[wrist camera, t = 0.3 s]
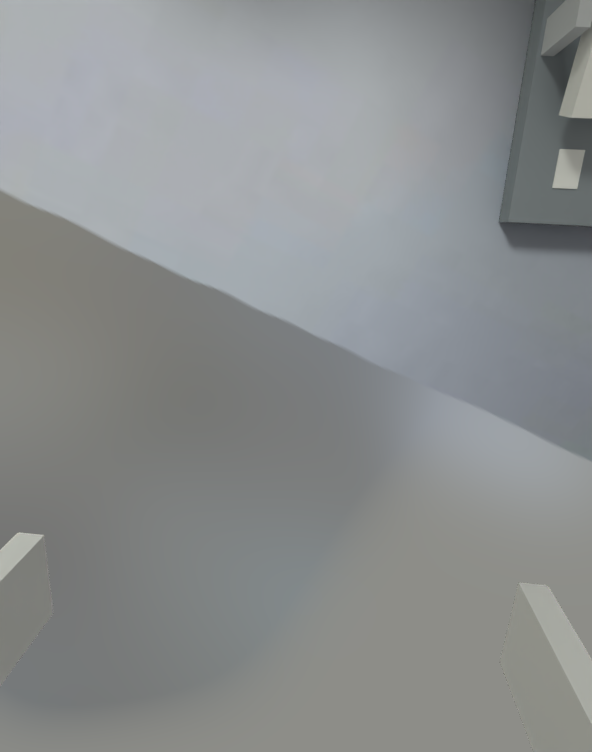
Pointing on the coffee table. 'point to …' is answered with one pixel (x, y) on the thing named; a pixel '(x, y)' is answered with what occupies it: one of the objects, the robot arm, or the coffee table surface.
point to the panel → (550, 126)
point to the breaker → (580, 81)
